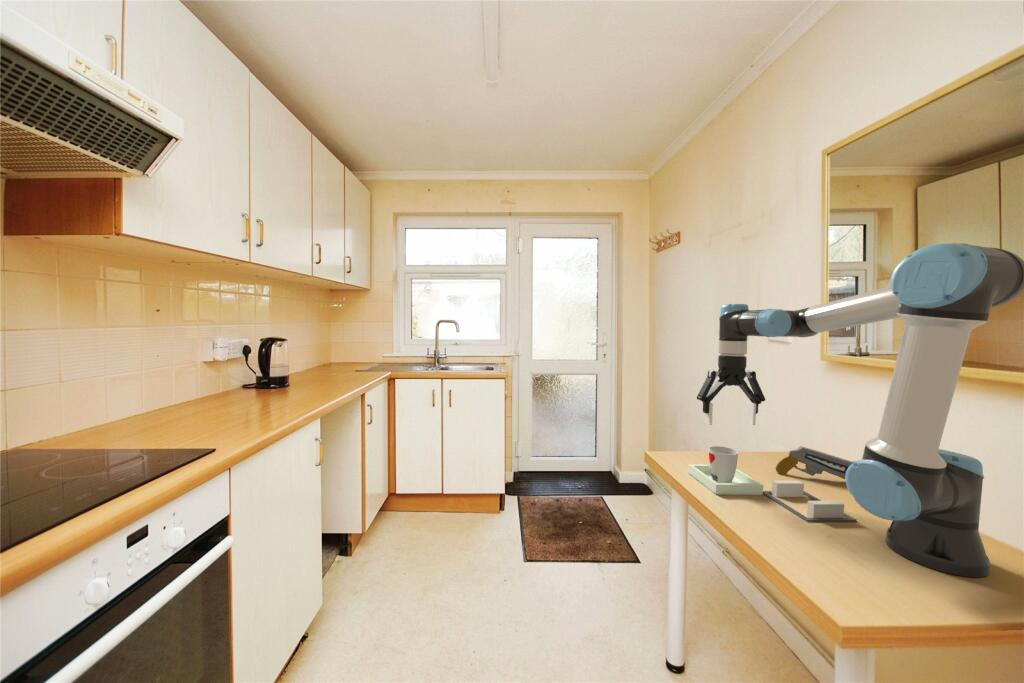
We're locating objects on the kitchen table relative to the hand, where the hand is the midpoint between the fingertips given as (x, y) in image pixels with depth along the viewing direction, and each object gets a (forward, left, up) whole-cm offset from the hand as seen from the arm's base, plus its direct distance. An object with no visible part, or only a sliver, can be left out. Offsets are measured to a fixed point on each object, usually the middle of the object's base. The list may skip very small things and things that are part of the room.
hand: (729, 424), depth 120 cm
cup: (+1, +1, -19) cm, 19 cm away
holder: (-14, -13, -19) cm, 27 cm away
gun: (+4, -35, -19) cm, 40 cm away
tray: (+1, +1, -19) cm, 19 cm away
